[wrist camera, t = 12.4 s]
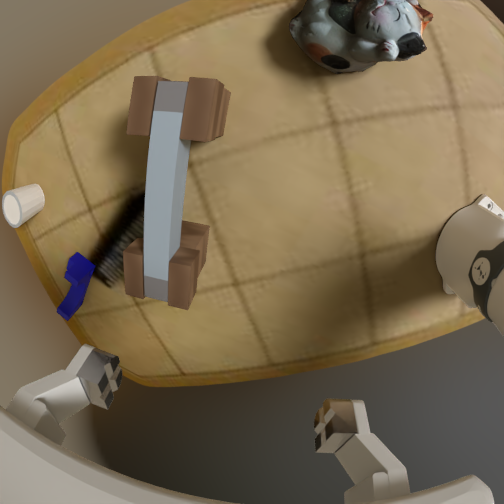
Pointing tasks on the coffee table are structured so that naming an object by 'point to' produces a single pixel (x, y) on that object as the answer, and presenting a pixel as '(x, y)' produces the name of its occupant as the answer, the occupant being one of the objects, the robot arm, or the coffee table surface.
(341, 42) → the lucky cat figurine
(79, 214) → the coffee table surface
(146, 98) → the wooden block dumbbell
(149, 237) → the bed rail
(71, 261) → the cable clip
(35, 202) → the shot glass
